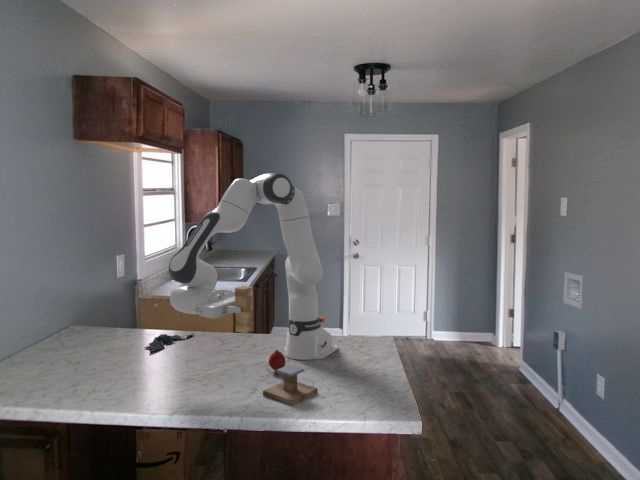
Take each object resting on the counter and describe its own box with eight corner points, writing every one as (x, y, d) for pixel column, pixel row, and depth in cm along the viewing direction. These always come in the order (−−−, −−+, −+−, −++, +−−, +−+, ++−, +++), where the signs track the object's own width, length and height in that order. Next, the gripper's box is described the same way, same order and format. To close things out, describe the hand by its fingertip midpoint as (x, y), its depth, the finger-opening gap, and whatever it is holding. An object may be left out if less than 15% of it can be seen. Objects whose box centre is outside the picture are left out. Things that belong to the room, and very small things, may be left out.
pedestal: (289, 383, 173) (288, 360, 173) (317, 392, 166) (317, 368, 165) (263, 395, 164) (262, 370, 163) (292, 405, 157) (291, 379, 156)
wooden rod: (243, 328, 170) (242, 285, 168) (253, 330, 168) (252, 287, 166) (235, 331, 166) (234, 288, 165) (246, 333, 164) (245, 289, 163)
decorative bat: (178, 323, 233) (197, 327, 229) (177, 332, 233) (196, 336, 230) (130, 342, 206) (150, 347, 202) (129, 352, 206) (150, 357, 202)
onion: (288, 369, 187) (287, 347, 186) (281, 375, 181) (281, 352, 180) (272, 367, 189) (272, 345, 188) (266, 373, 183) (265, 350, 182)
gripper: (189, 300, 163) (225, 305, 156) (231, 288, 181) (264, 292, 174) (190, 320, 164) (225, 325, 157) (231, 306, 182) (265, 311, 175)
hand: (246, 308), depth 166 cm, fingers closed on wooden rod, 4 cm apart
